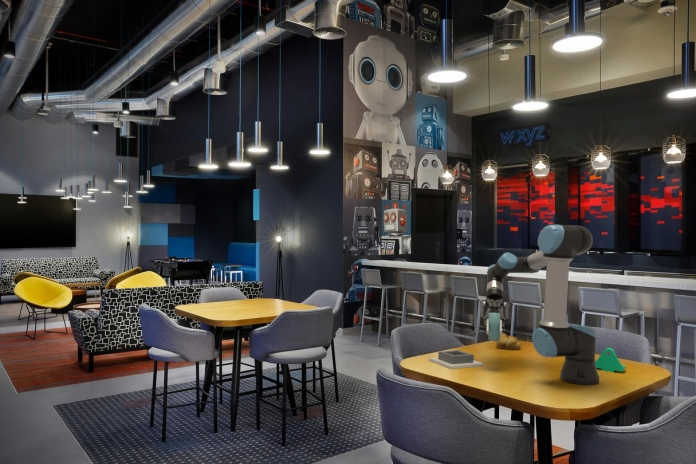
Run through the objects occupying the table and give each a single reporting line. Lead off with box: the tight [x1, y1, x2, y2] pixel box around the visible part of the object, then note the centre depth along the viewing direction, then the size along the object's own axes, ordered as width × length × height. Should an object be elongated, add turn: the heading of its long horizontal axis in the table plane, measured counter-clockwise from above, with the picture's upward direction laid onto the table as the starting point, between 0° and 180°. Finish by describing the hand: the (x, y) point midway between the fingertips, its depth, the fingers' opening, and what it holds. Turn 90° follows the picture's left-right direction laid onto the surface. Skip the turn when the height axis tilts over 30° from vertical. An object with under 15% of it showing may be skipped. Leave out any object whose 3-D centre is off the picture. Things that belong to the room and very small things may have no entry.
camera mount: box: [595, 347, 626, 373], centre depth 248 cm, size 12×8×10 cm, turn 55°
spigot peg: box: [487, 312, 501, 342], centre depth 244 cm, size 5×5×12 cm
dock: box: [428, 349, 485, 370], centre depth 255 cm, size 18×18×5 cm
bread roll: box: [496, 332, 522, 350], centre depth 294 cm, size 13×10×8 cm
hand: (494, 332), depth 240 cm, fingers closed on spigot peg, 5 cm apart
